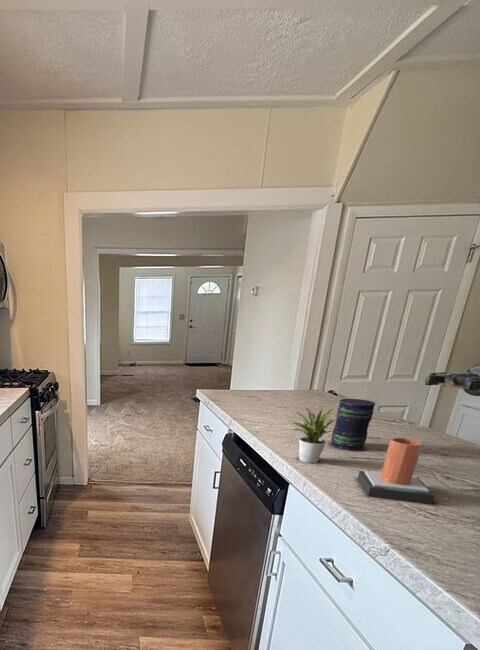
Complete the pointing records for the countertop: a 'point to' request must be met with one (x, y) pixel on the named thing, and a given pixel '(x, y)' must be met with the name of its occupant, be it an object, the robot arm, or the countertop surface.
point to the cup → (401, 460)
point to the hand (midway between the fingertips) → (447, 383)
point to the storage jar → (352, 424)
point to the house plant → (312, 436)
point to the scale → (395, 488)
